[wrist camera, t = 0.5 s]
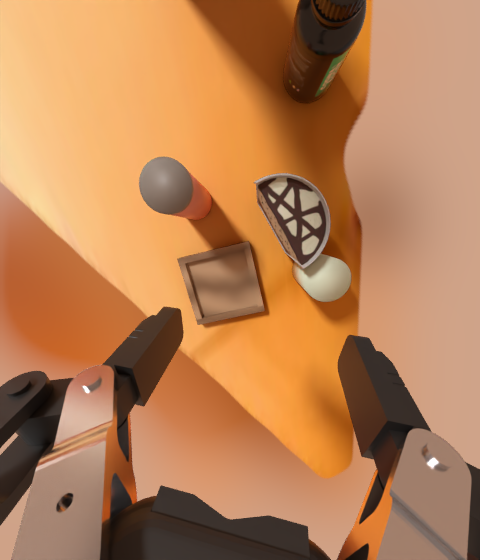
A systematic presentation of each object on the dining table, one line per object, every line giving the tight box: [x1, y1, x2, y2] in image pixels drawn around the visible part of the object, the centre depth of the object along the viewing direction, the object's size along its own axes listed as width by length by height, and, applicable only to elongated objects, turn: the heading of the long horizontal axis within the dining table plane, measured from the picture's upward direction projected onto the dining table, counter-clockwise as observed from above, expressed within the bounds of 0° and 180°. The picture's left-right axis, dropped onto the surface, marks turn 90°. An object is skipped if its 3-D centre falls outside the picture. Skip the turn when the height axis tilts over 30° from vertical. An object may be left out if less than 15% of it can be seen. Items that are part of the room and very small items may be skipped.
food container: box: [254, 173, 331, 269], centre depth 28 cm, size 12×6×10 cm, turn 31°
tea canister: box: [139, 157, 212, 220], centre depth 27 cm, size 6×6×12 cm
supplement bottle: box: [283, 0, 366, 103], centre depth 23 cm, size 7×7×12 cm
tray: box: [177, 241, 265, 325], centre depth 35 cm, size 12×12×2 cm
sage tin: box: [292, 254, 351, 302], centre depth 31 cm, size 6×6×8 cm
